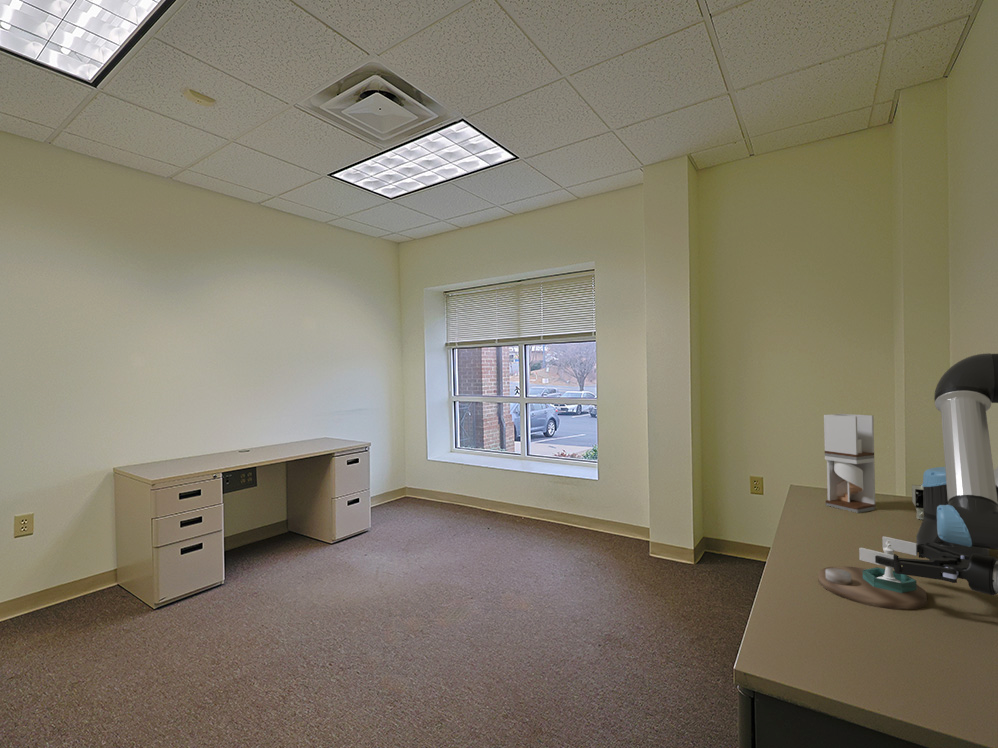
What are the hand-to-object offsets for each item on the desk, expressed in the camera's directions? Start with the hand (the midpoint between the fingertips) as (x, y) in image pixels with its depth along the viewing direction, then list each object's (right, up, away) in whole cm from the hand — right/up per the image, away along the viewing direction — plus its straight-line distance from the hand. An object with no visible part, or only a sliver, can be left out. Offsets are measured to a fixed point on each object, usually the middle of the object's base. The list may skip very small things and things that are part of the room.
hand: (871, 547), depth 115 cm
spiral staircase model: (+44, -10, +68) cm, 82 cm away
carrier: (-2, -9, -2) cm, 9 cm away
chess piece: (+2, -8, -3) cm, 8 cm away
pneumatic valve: (+59, -9, +52) cm, 79 cm away
